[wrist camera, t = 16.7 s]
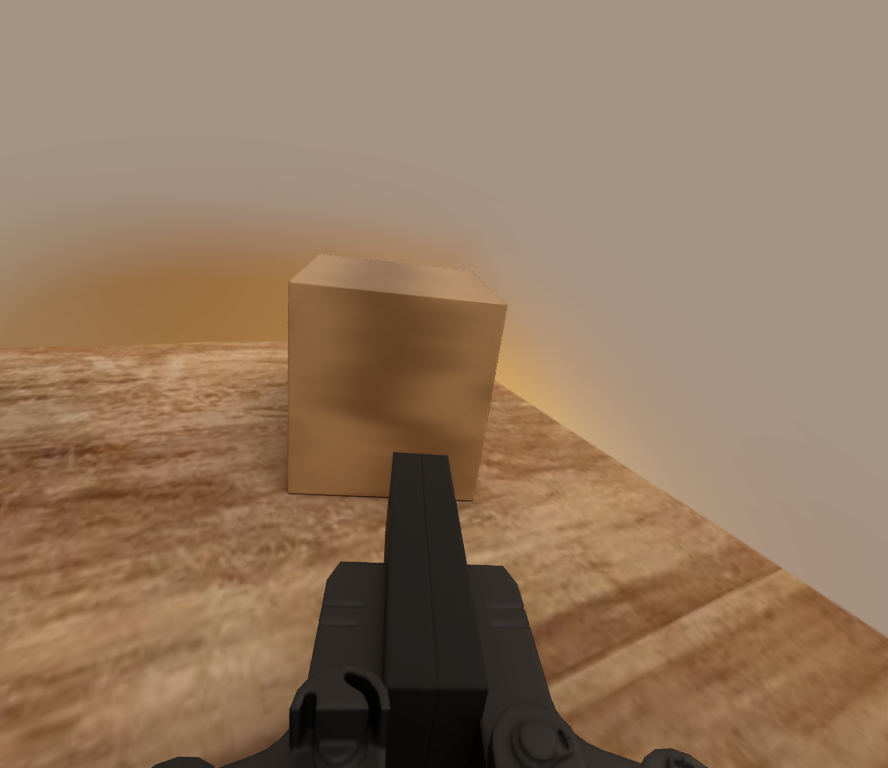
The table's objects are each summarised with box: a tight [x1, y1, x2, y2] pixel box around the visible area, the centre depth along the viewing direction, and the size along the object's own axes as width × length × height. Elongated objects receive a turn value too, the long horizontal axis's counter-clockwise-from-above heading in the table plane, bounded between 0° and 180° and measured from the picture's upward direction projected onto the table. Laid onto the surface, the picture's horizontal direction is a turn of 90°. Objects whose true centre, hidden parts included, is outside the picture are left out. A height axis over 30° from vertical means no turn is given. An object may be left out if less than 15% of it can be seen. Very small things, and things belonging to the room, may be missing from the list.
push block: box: [288, 254, 507, 501], centre depth 25 cm, size 9×9×10 cm
